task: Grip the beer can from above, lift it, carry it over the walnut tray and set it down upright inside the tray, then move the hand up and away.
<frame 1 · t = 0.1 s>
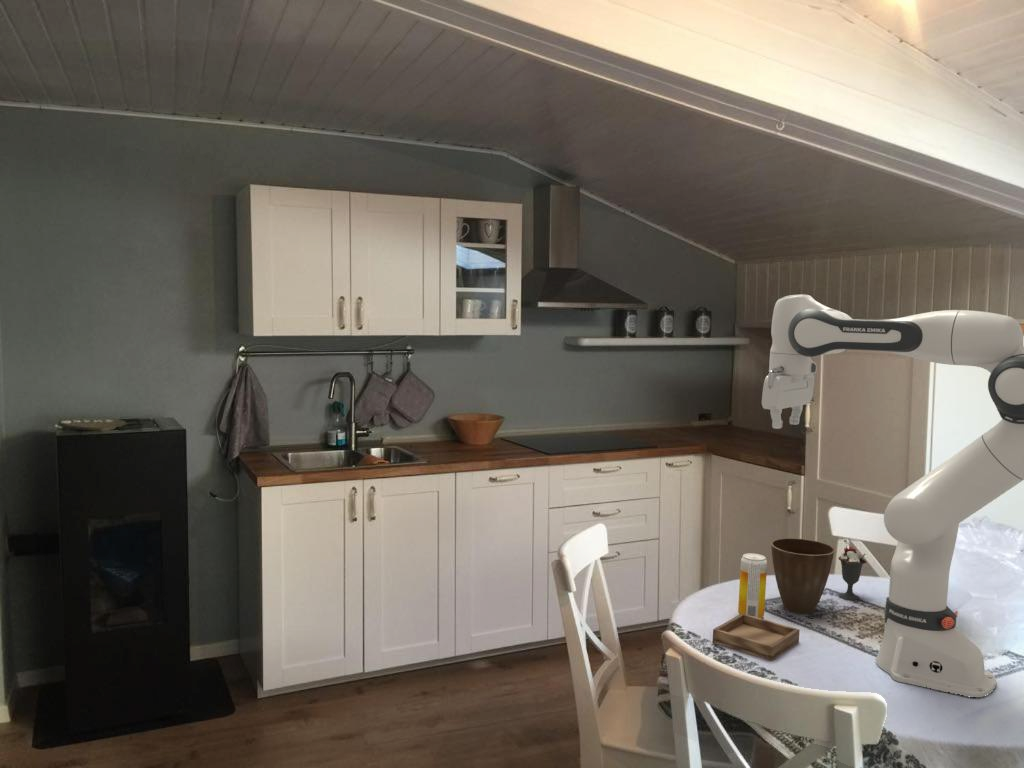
hand: (785, 426, 198), 48 cm above the table, tool pointing down, fingers open, 8 cm apart
plant pot: (798, 609, 216), on the table
sundae: (849, 597, 225), on the table
beer can: (750, 617, 209), on the table
walnut tray: (755, 642, 194), on the table
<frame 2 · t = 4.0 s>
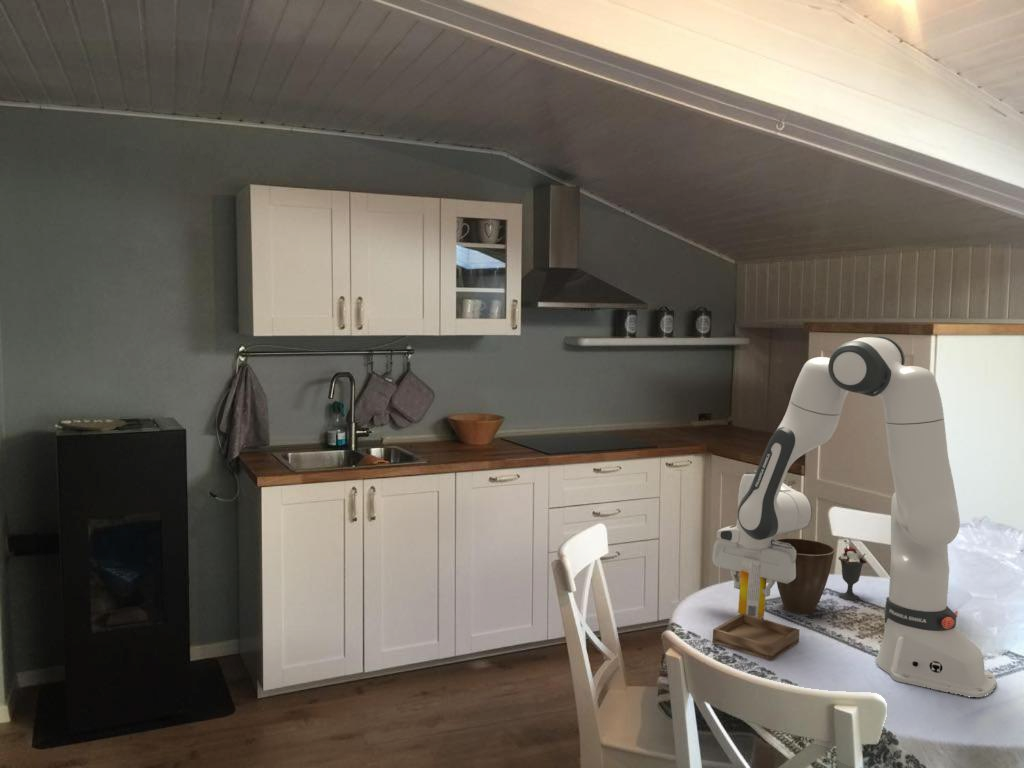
hand: (751, 591, 209), 6 cm above the table, tool pointing down, fingers closed on beer can, 6 cm apart
beer can: (750, 617, 209), on the table, touching gripper
everything else where it was.
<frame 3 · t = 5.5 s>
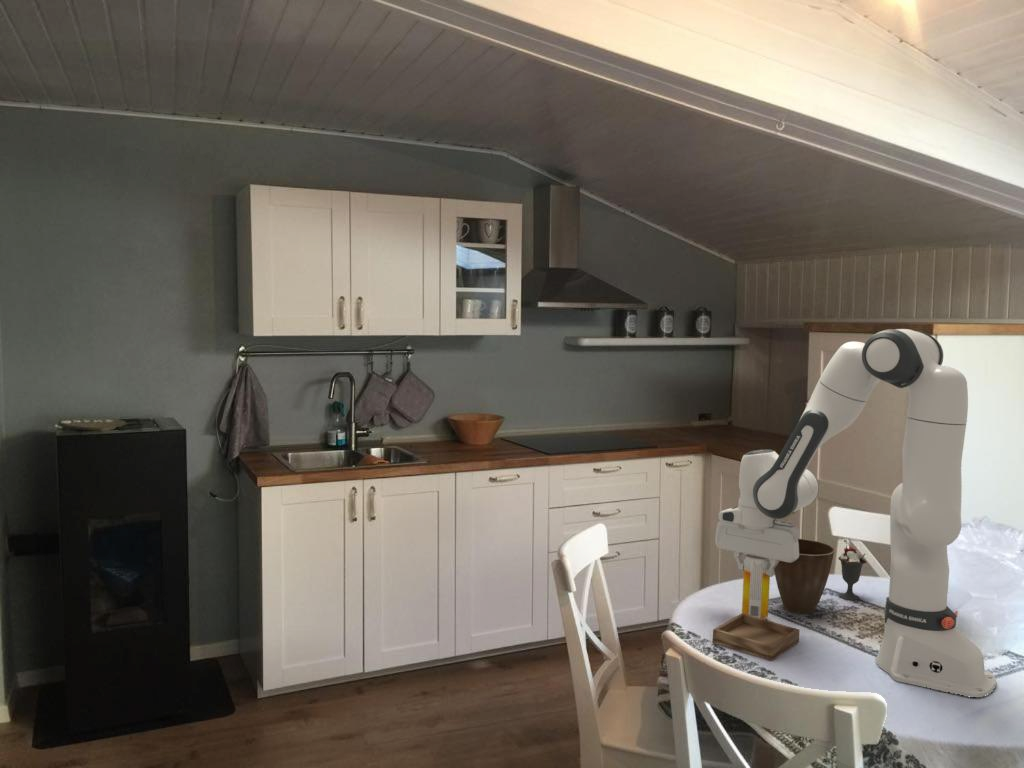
hand: (755, 572, 208), 11 cm above the table, tool pointing down, fingers closed on beer can, 6 cm apart
beer can: (754, 618, 209), on the table, touching gripper
everything else where it was.
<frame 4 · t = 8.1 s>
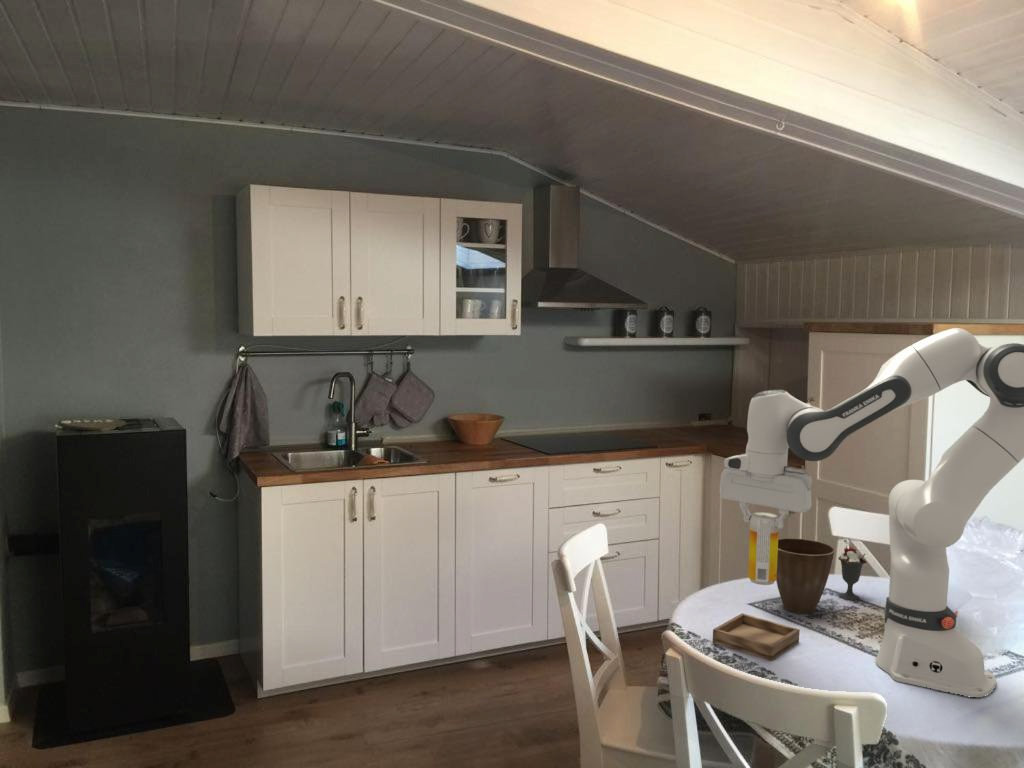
hand: (762, 525, 191), 27 cm above the table, tool pointing down, fingers closed on beer can, 6 cm apart
beer can: (762, 582, 192), point 14 cm above the table, touching gripper
everything else where it was.
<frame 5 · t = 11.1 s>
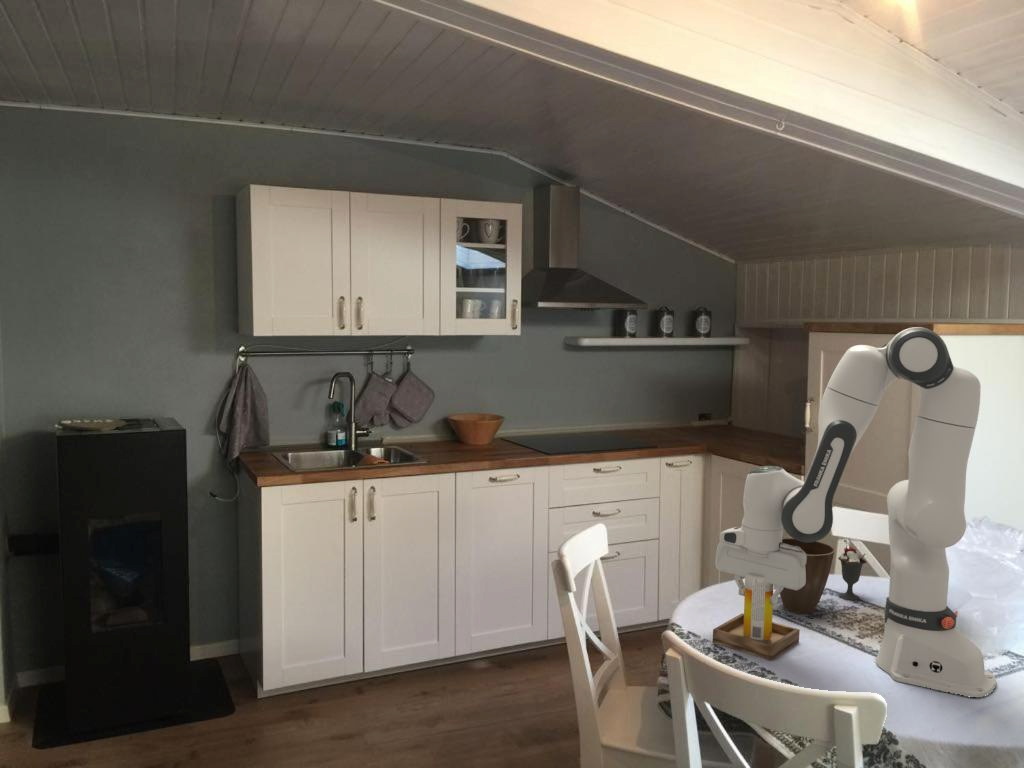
hand: (757, 598, 193), 10 cm above the table, tool pointing down, fingers closed on beer can, 6 cm apart
beer can: (757, 639, 193), point 1 cm above the table, touching gripper, walnut tray
everything else where it was.
when the fingers open (9 cm above the table, at t = 12.4 s): beer can stays where it is, resting on walnut tray.
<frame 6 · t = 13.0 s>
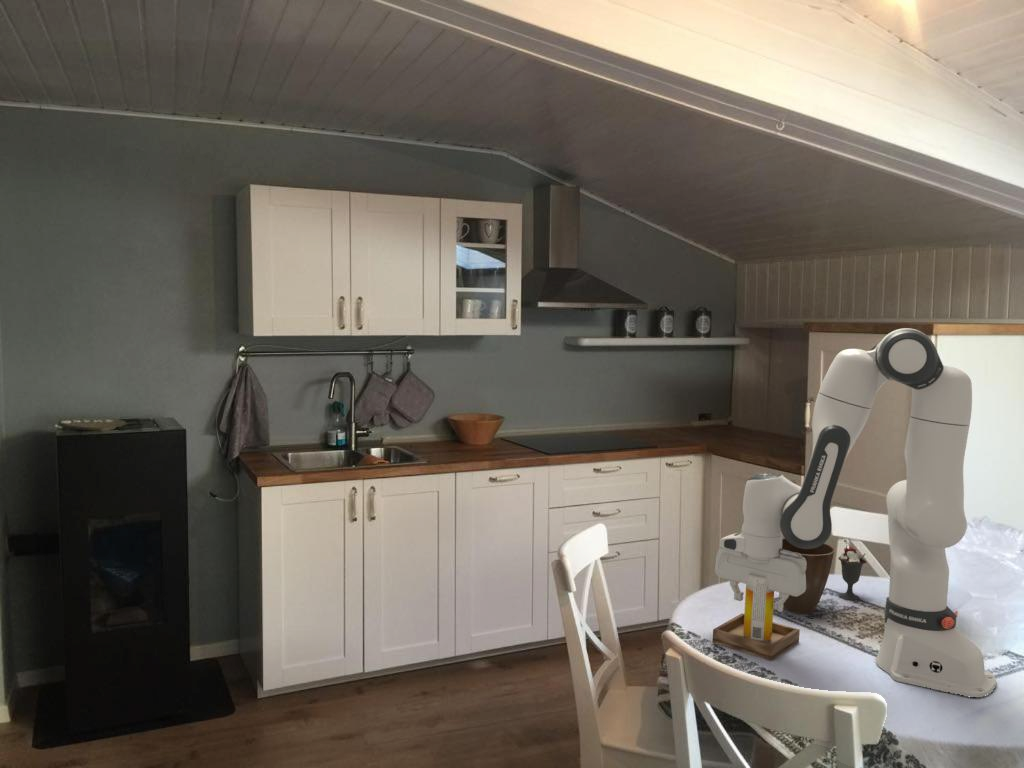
hand: (758, 605, 193), 9 cm above the table, tool pointing down, fingers open, 8 cm apart
beer can: (757, 639, 193), point 1 cm above the table, touching walnut tray
everything else where it was.
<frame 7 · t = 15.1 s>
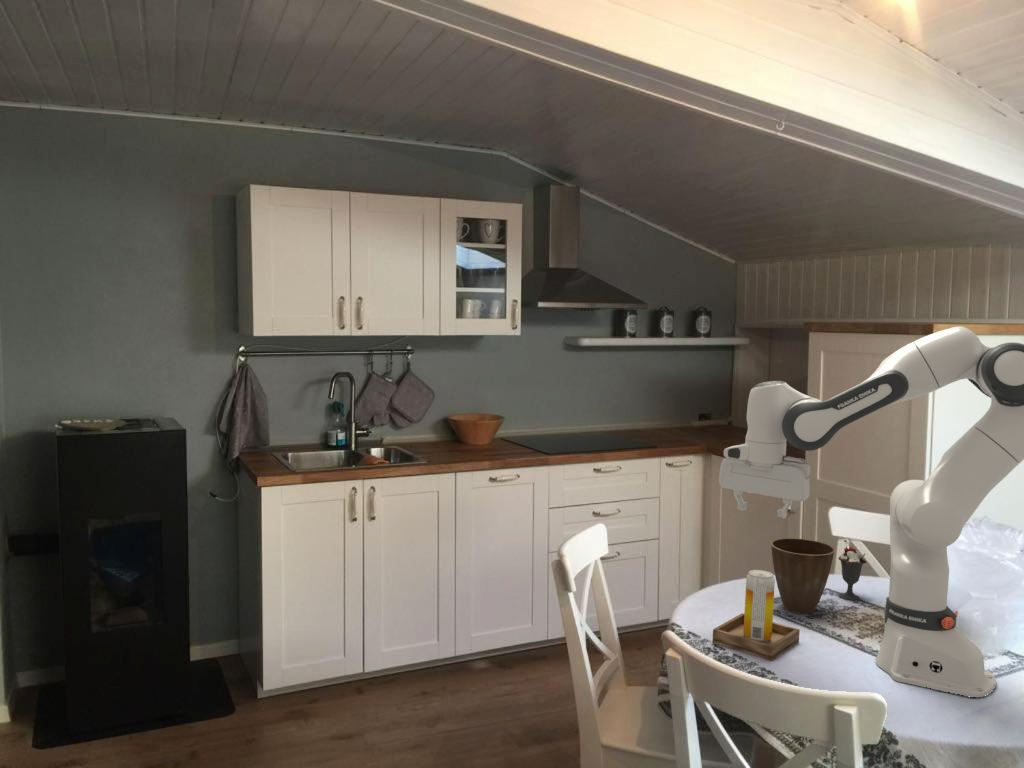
hand: (761, 513, 194), 29 cm above the table, tool pointing down, fingers open, 8 cm apart
nothing on the table moved.
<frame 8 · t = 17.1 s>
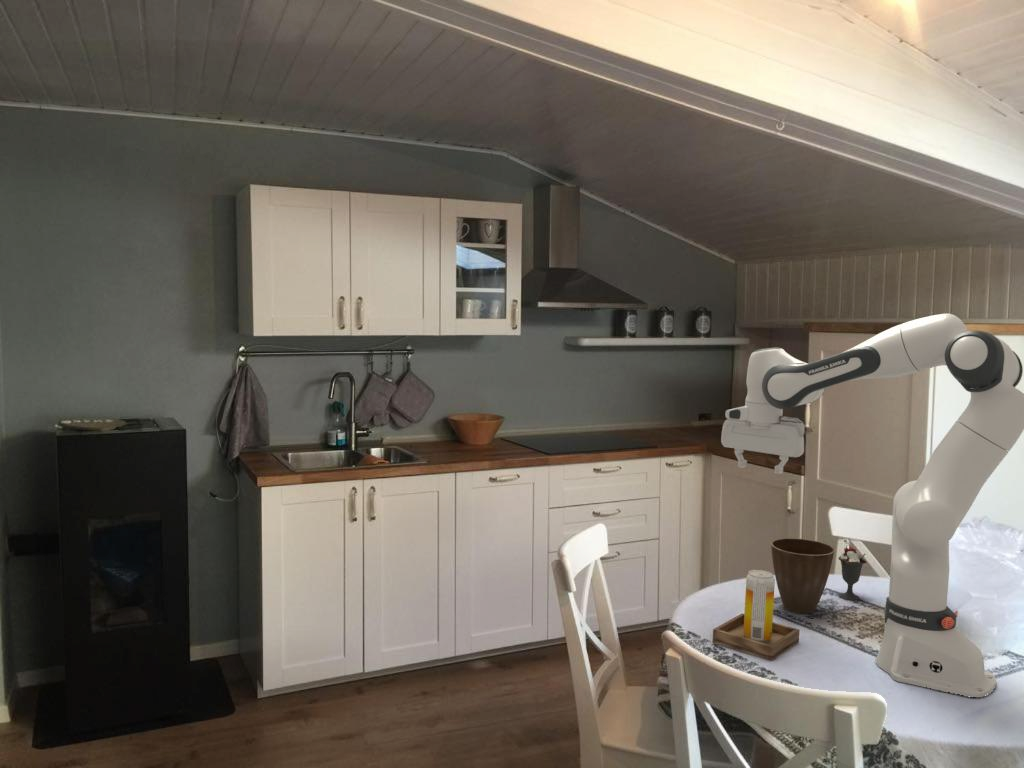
hand: (760, 470, 211), 35 cm above the table, tool pointing down, fingers open, 8 cm apart
nothing on the table moved.
at the end: beer can inside the target area on the walnut tray (0.4 cm from its centre), point 0.8 cm above the walnut tray's base; beer can tilted 0°; the gripper is holding nothing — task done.
